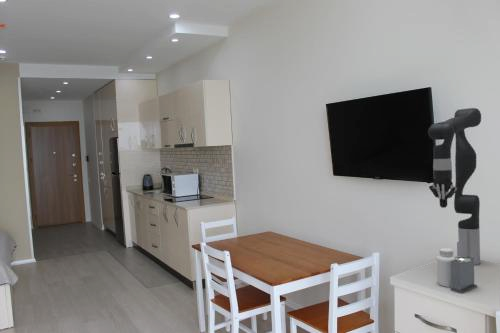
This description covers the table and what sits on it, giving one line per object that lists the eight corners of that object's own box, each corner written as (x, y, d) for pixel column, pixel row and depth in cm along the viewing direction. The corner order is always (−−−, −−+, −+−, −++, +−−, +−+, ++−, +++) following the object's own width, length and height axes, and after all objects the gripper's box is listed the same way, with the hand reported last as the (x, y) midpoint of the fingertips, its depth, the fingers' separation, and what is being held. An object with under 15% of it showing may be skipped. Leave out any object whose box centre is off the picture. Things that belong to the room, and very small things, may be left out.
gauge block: (448, 289, 177) (447, 258, 176) (463, 283, 183) (462, 253, 183) (462, 293, 172) (461, 261, 171) (477, 286, 178) (476, 256, 178)
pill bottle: (433, 283, 185) (432, 249, 184) (445, 279, 189) (445, 246, 188) (449, 288, 178) (448, 253, 177) (462, 284, 182) (461, 249, 181)
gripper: (461, 168, 188) (462, 207, 189) (434, 167, 199) (435, 204, 200) (451, 170, 184) (452, 210, 185) (424, 169, 195) (425, 206, 196)
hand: (443, 207), depth 192 cm, fingers closed
